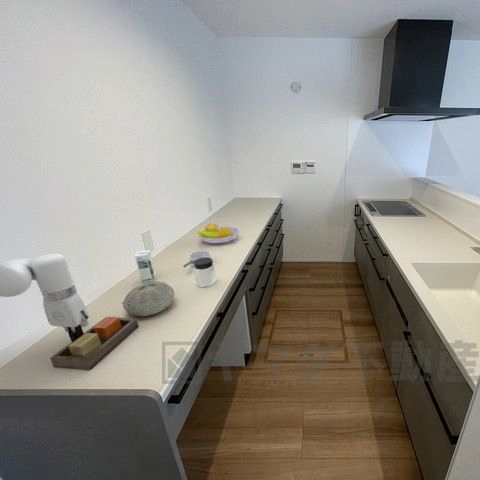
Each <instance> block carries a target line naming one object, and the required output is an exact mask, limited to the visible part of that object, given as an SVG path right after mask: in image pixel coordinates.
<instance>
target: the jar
mask: <svg viewBox="0 0 480 480" xmlns="http://www.w3.org/2000/svg"><path fill="white" fill-rule="evenodd" d="M193 274H194V279H195V284H196V286H198V287H200V288H207V287H212V286H213V285H214V284H215V283H216V282H217V277H216V269H215V264H214V262H213V258H211V257H210V258H208V257H204V258H199V259H197V260H195V261H194V266H193Z"/></svg>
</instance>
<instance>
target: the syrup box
mask: <svg viewBox="0 0 480 480" xmlns="http://www.w3.org/2000/svg"><path fill="white" fill-rule="evenodd" d="M134 258H135V262H136V266H137V268H138V273H139V277H140V282H141V283H142V282H144V283H148V282H147V281H150V282H154V281H153V280H155V281H156V278H157V273H156V269H155V266H154V261H153V256H152V252H151V250H144V251H137V252H136V253H135V255H134ZM155 277H156V278H155Z"/></svg>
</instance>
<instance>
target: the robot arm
mask: <svg viewBox="0 0 480 480" xmlns="http://www.w3.org/2000/svg"><path fill="white" fill-rule="evenodd" d="M32 281H36V284H37V286H38V289H39V290H40V292H41V295H42V297H43V299H42V303H43V309H44V314H45V316H46V319H47V321H48V324H49V325H50V326H53V327H62V328H63V329H64V332H66V333H67V334H68V337H69V339H70V343H71V342H73V341H74V340H76V339H77V338H78V337H80V336H81V335H82V334H84V333H85V332H84V330H83V328H86V327H87V326H88V325H90V323H89V321H88V319H89V317H90V316H89V311H88V309H87V307H86V304H85V303H84V301H83V298H82V297H81V295H80V294H79V292H78V290H77V288H76V285H75V282H74V280H73V276H72V274H71V271H70V268H69V266H68V263H67V261H66V257H65V256H64V255H63V254H61V253H48V254H43V255H40V256H37V257H27V258H14V259H9V260H5V261H2V262H0V297H1V298H2V297H4V298H10V297H16V296H20V295H21V294H24V293H25V292H27V291H28V290H29V289H30V287H31V286H32V285H31V284H32Z"/></svg>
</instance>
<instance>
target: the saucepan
mask: <svg viewBox="0 0 480 480" xmlns="http://www.w3.org/2000/svg"><path fill="white" fill-rule="evenodd" d="M211 254H212V253H211V252H210V250H209V251H208V250H198V251H193V252H191V253H189V254H188V259H189V261H188V262H187V263H185V264H183V266H182V267H183V268H186V267H189V265H190V266H192V267H194V261H195V260H197V259H199V258H204V257H208V258H211Z"/></svg>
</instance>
